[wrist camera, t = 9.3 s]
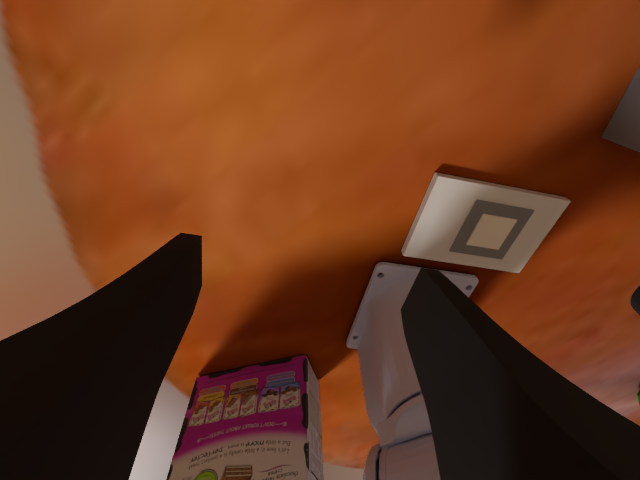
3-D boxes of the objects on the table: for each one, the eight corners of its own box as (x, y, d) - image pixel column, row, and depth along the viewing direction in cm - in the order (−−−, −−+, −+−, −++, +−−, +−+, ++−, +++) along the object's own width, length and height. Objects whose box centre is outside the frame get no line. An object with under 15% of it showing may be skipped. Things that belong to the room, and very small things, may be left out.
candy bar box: (219, 401, 33) (157, 666, 19) (195, 374, 30) (104, 661, 17) (322, 381, 31) (334, 653, 18) (308, 352, 29) (308, 645, 15)
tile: (514, 267, 24) (520, 275, 23) (400, 250, 22) (403, 257, 22) (564, 196, 20) (573, 202, 20) (434, 172, 19) (439, 177, 18)
